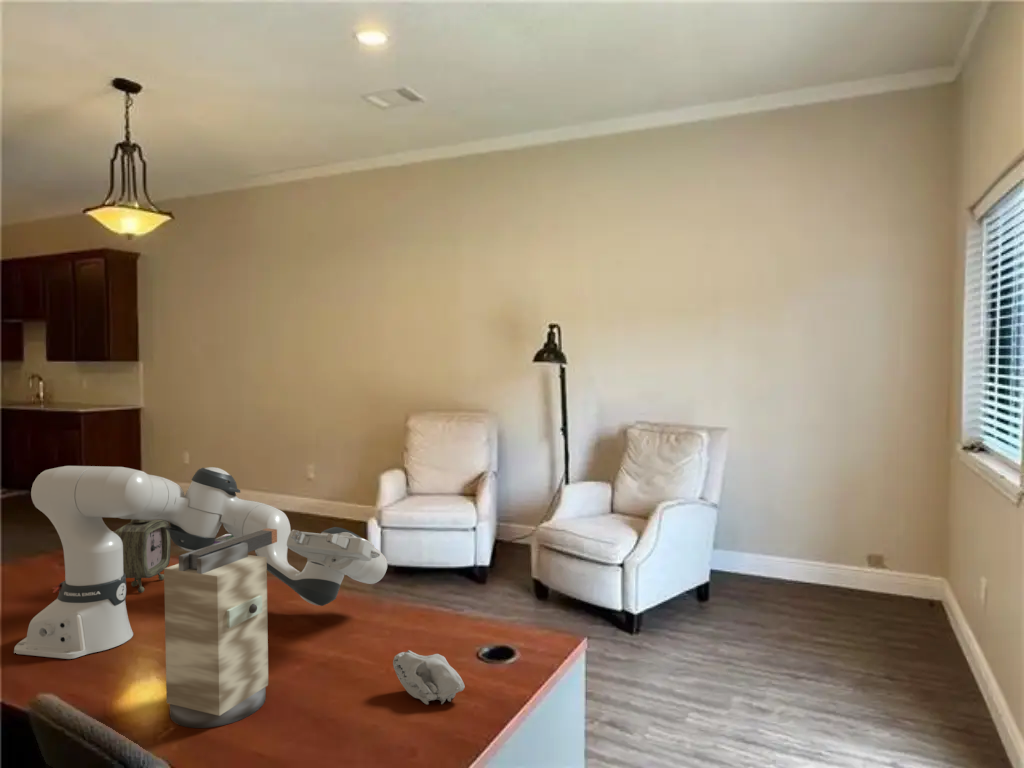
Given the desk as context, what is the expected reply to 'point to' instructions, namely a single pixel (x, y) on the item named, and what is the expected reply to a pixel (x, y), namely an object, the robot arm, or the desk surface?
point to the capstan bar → (253, 540)
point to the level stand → (216, 637)
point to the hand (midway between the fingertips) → (311, 535)
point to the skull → (427, 676)
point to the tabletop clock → (145, 549)
